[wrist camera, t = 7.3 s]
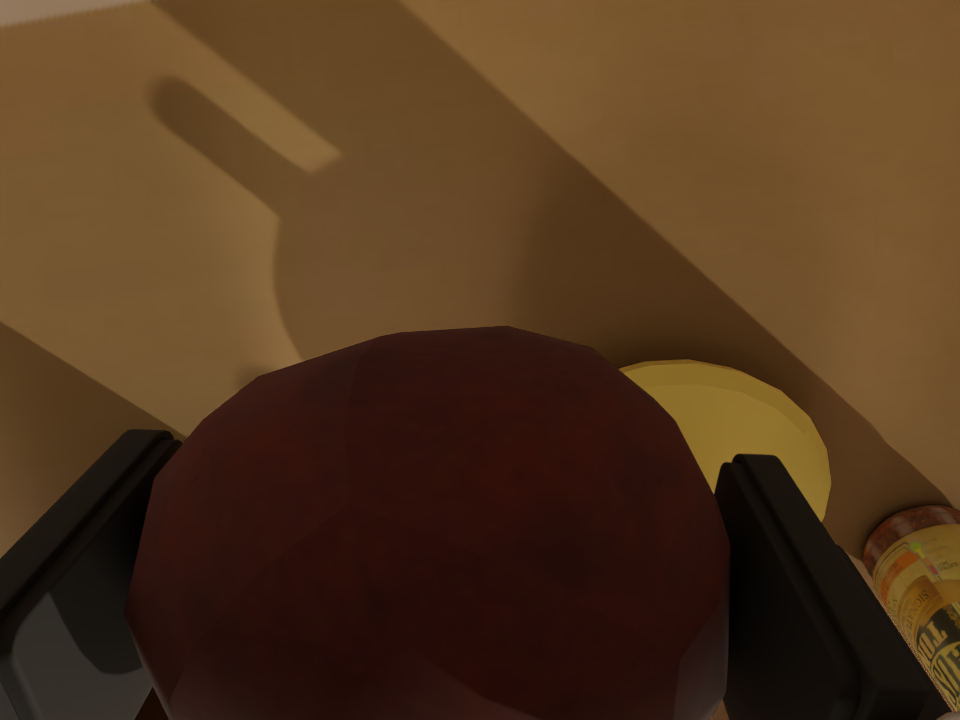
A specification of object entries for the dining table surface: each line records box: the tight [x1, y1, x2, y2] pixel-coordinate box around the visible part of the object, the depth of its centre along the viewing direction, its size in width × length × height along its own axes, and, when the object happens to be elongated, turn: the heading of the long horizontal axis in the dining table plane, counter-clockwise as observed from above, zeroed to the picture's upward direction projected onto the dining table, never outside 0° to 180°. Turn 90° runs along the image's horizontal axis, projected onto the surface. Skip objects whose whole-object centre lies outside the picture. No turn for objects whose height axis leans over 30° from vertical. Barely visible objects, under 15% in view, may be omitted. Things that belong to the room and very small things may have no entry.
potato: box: [124, 326, 730, 720], centre depth 9 cm, size 7×8×6 cm
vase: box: [619, 359, 831, 522], centre depth 30 cm, size 16×16×7 cm
